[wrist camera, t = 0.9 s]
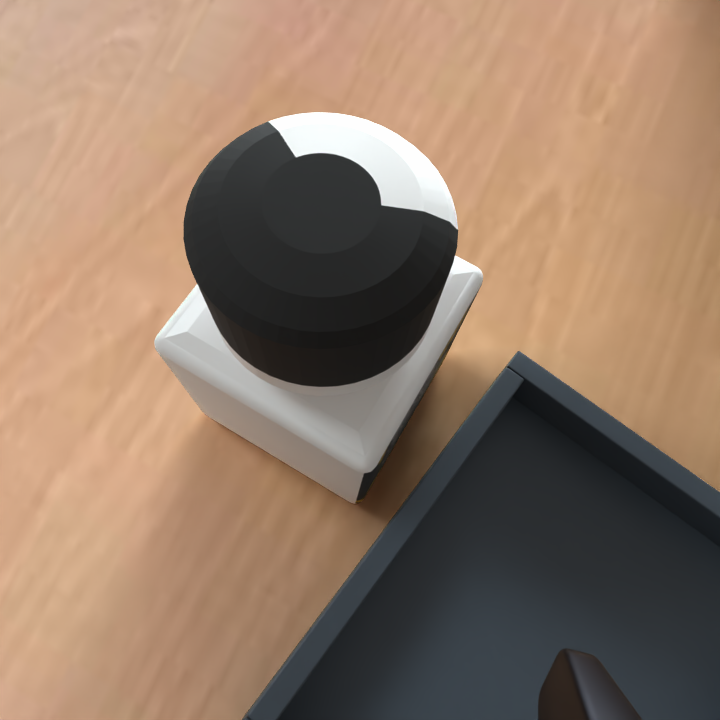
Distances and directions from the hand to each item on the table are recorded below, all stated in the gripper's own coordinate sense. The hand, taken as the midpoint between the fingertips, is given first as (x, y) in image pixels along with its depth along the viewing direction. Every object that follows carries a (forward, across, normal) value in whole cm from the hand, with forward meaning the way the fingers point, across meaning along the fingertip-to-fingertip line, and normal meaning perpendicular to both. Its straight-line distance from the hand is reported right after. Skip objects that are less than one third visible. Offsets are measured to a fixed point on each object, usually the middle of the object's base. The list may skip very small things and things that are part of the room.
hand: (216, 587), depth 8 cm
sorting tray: (+9, -9, +10) cm, 17 cm away
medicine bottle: (+15, 0, +5) cm, 16 cm away
